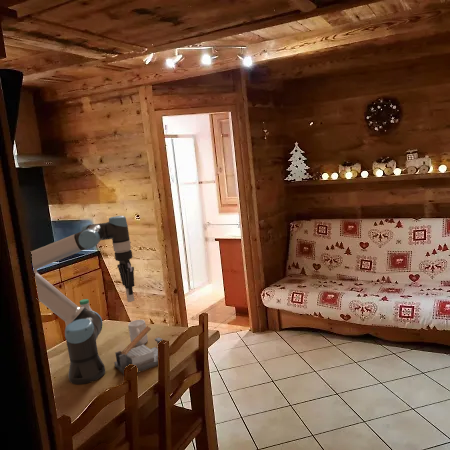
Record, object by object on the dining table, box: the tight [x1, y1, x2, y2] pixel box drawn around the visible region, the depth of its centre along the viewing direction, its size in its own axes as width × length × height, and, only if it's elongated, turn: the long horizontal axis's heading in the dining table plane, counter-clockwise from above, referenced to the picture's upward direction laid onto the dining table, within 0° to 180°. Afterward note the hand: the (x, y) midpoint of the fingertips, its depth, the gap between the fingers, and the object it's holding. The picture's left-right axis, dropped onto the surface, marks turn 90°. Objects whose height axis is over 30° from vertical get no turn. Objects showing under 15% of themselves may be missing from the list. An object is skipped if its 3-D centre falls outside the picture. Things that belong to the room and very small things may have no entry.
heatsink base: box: [113, 337, 164, 375], centre depth 197 cm, size 21×14×8 cm
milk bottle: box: [79, 298, 93, 311], centre depth 235 cm, size 8×8×20 cm
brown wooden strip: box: [118, 325, 151, 357], centre depth 195 cm, size 18×3×1 cm
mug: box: [127, 319, 149, 347], centre depth 218 cm, size 12×8×10 cm
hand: (131, 301), depth 203 cm, fingers closed
